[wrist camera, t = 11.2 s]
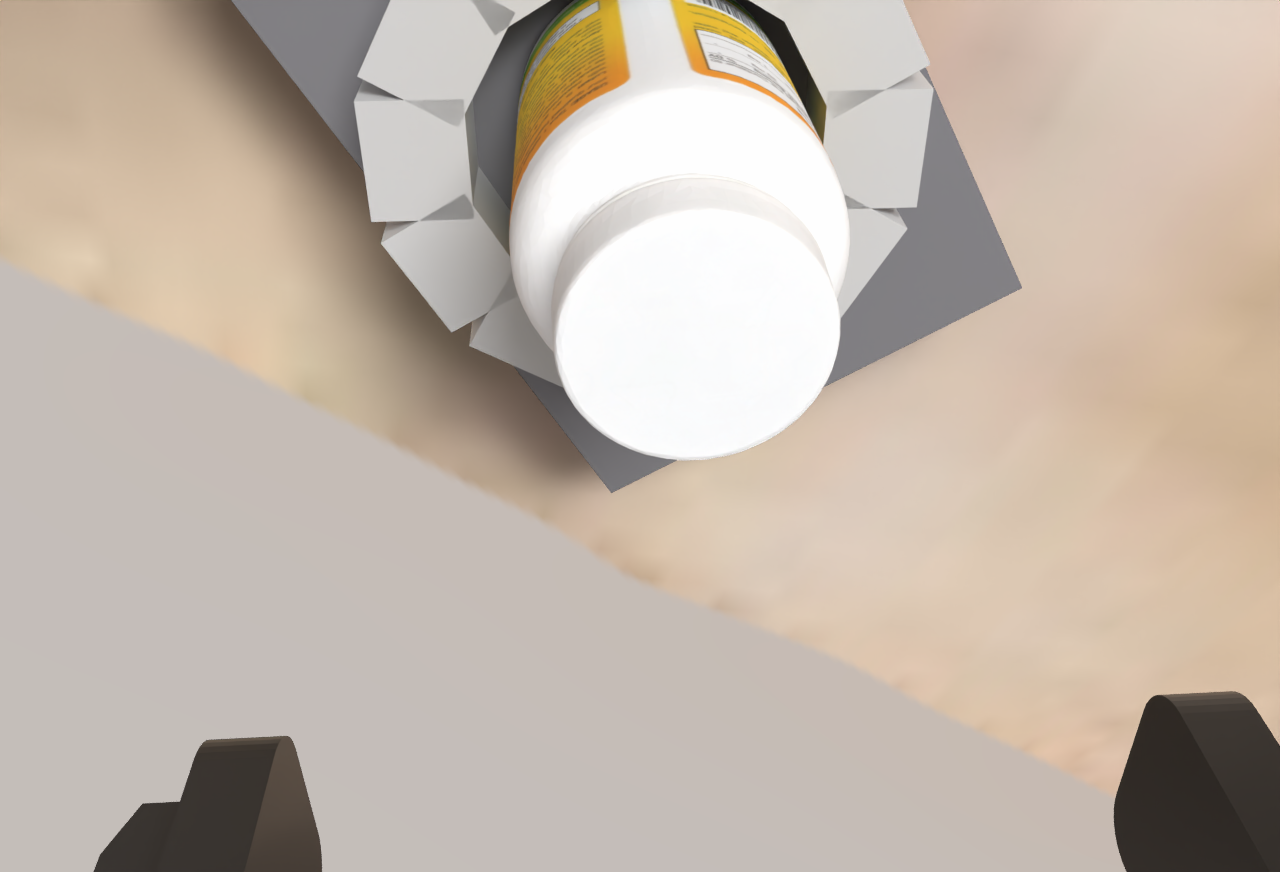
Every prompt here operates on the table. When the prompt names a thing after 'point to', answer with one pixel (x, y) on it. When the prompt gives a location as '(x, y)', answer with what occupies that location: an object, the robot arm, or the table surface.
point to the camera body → (485, 150)
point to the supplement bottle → (675, 225)
